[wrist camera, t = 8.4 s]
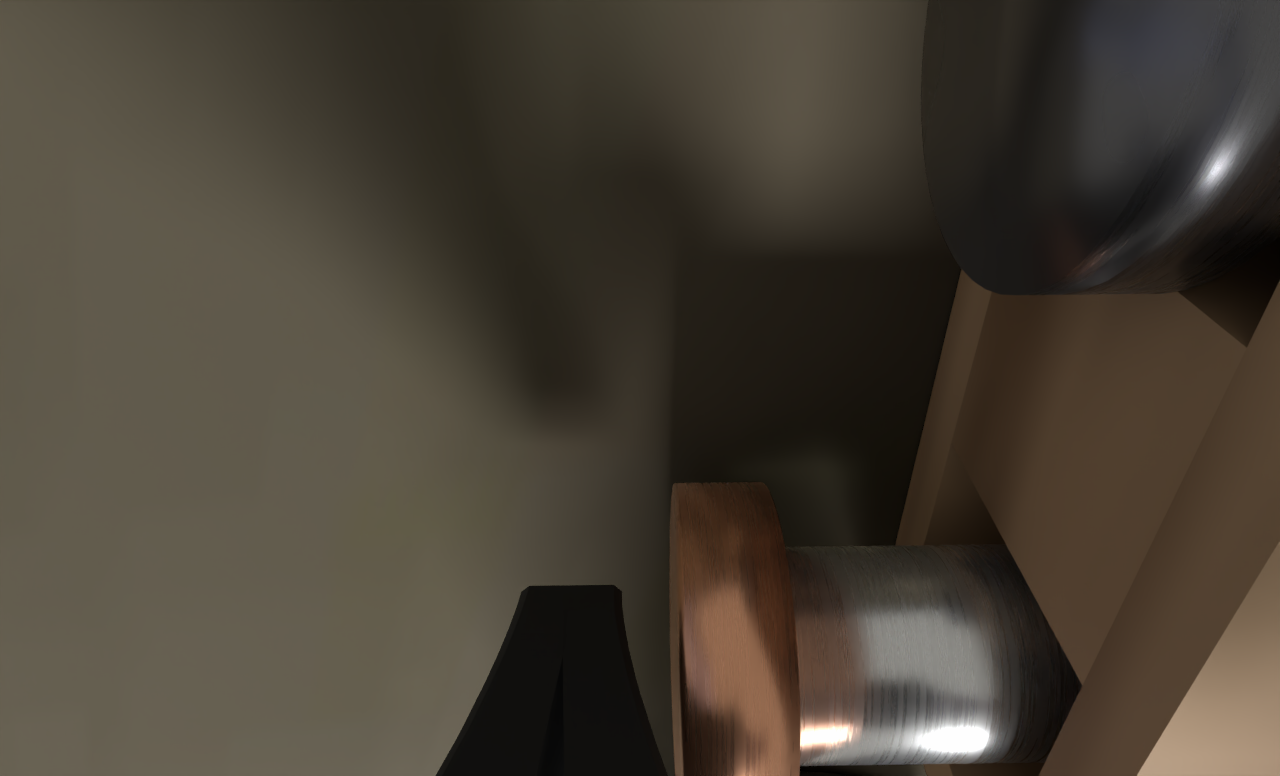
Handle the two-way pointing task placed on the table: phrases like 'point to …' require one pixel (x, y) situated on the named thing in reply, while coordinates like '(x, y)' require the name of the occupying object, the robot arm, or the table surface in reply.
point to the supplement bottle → (817, 774)
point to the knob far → (849, 648)
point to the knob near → (1102, 140)
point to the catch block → (1125, 508)
